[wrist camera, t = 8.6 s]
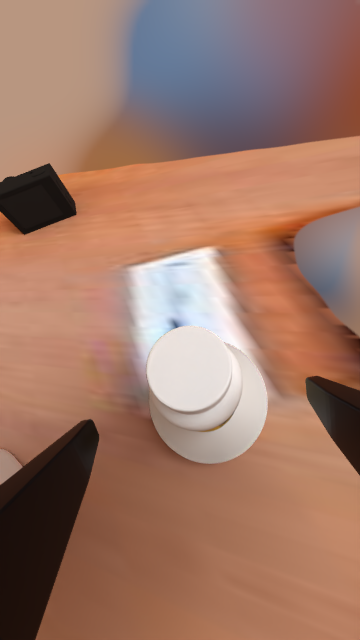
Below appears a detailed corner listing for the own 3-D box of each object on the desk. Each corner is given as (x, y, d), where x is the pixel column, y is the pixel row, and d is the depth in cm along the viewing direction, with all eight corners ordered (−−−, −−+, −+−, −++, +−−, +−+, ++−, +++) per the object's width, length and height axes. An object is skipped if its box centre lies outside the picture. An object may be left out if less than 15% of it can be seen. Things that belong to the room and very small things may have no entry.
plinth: (282, 383, 20) (289, 377, 18) (226, 489, 17) (226, 498, 15) (193, 332, 24) (190, 321, 22) (136, 411, 21) (126, 408, 19)
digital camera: (75, 198, 42) (49, 158, 36) (77, 214, 39) (50, 174, 33) (26, 217, 42) (-9, 181, 36) (24, 235, 39) (-13, 198, 33)
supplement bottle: (230, 441, 16) (235, 453, 8) (164, 419, 18) (110, 408, 9) (242, 373, 18) (256, 322, 10) (183, 358, 20) (151, 304, 12)
